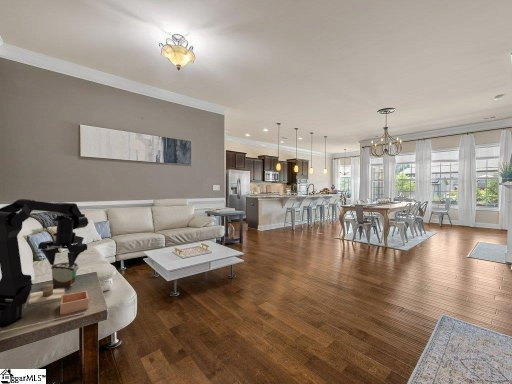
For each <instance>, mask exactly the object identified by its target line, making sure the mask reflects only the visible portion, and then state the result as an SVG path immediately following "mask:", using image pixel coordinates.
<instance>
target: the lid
mask: <svg viewBox="0 0 512 384" xmlns="http://www.w3.org/2000/svg"><path fill="white" fill-rule="evenodd" d="M42 286H43V287H42V291H37V292H35V291H34V292H30V294H29V295H30V299H29V302H28V306H33V305H38V304H44V303H49V302H54V301H59V300H61V295H64V289H65V287H59V288H54V285H53V284H52V283H49V284H46V285H42ZM59 302H60V301H59ZM54 303H55V302H54ZM49 304H50V303H49ZM44 305H45V304H44Z"/></svg>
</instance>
